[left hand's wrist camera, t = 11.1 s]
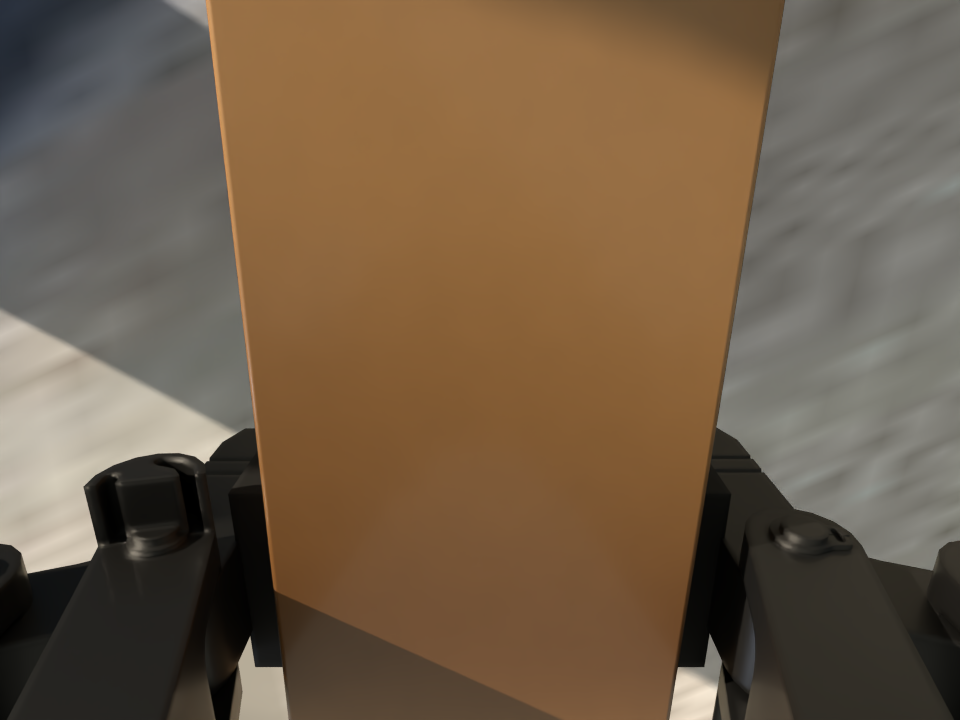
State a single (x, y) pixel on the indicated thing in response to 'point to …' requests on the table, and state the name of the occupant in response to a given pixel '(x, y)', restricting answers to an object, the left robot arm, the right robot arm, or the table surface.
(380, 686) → the beam
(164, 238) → the table surface
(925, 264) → the table surface
